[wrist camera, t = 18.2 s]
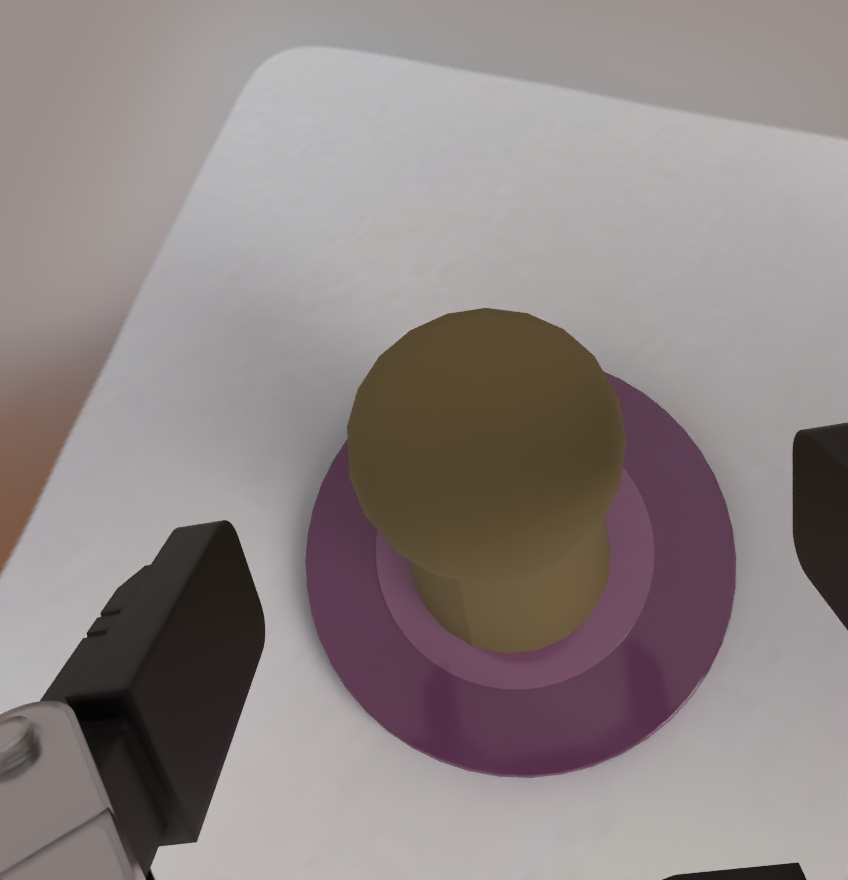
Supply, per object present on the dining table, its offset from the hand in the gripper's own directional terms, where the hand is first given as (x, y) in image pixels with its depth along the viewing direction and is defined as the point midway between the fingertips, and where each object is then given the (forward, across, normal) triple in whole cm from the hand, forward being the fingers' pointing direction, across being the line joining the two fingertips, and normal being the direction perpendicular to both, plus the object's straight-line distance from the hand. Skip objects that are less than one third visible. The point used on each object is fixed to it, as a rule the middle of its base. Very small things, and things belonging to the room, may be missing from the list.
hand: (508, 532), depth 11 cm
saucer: (+11, 0, +7) cm, 13 cm away
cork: (+10, 0, +7) cm, 12 cm away
